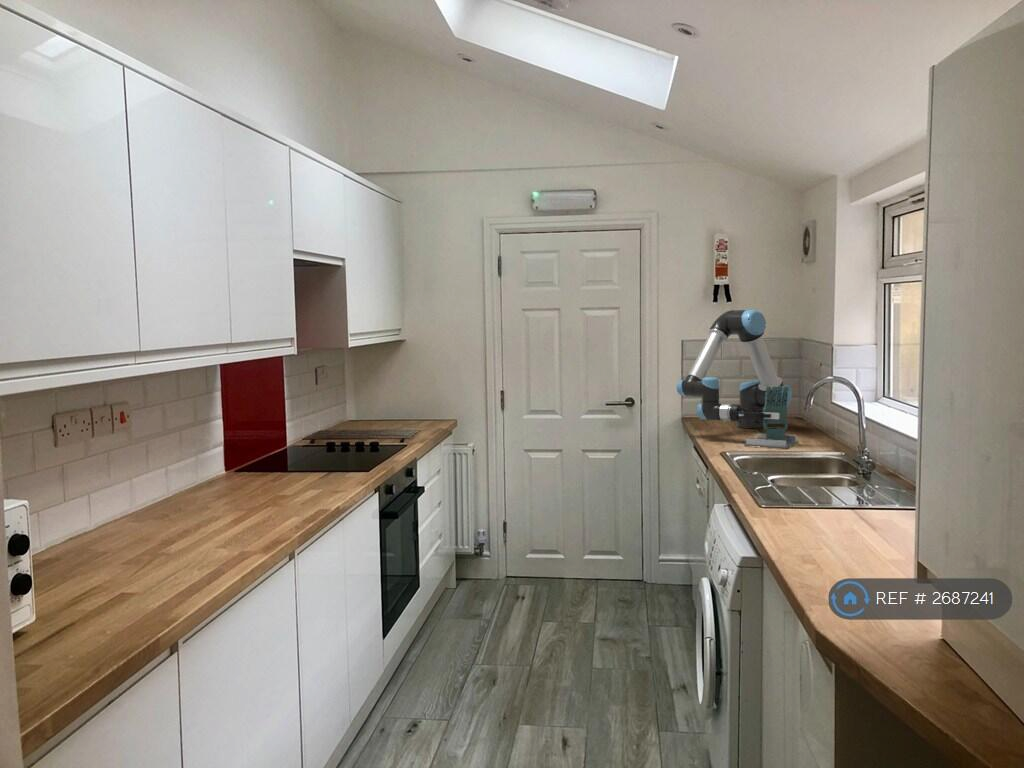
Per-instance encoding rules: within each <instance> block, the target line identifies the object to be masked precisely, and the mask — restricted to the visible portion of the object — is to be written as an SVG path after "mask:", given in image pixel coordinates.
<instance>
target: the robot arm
mask: <svg viewBox="0 0 1024 768" xmlns="http://www.w3.org/2000/svg"><path fill="white" fill-rule="evenodd" d="M766 324H767V322H766V318H765V316H764V314H763V313H762V312H761V311H759V310H756V309H742V310H741V309H739V310H738V309H737V310H734V309H731V310H727V311H725V312H723V313H722V314H720V315H719V316H718V317H717V318H716V319H715V320H714V321H713V323H712V324H711V326H710V328H709V330H708V336H707V338H706V340H705V342H704V343H703V345H702V347H701V349H700V350H699V353H698V355H697V357H696V358H695V361H694V362H693V364H692V366H691V368H690V370H689V372H688V373H687V376H686V377H685V379H680V380H679V381H678V382H677V384H676V392H677V393H678V394H679V396H683V397H696V398H702V399H701V400H702V402H701V403H700V402H699V403H698V405H697V406H696V407H697V408H696V415H697V418H698V419H700V420H707V421H709V420H710V421H723V422H724V423H725V422H727V421H729V422H730V421H731V422H736V427H737V428H739V427H741V428H740V429H750V428H756V429H764V428H763V427H764V420H763V417H764V419H779V413H769V412H764V414H763V413H761V412H763V408H764V407H765V396H766V395H765V394H766V392H767V391H766V387H767V386H771V392H772V387H773V386H777V387H778V386H782V391H781V392H782V394H783V392H784V391H783V388H784V387H785V386H788V387H789V389H788V392H787V393H788V396H787V407H788V406H789V404H790V403H791V401H792V397H793V391H792V388H791V386H790V385H788V384H784V381H783V379H782V378H781V376H780V377H779V376H778V375H777V373H776V370H775V366H774V364H773V362H772V359H771V356H770V354H769V350H768V348H767V345H766V343H765V340H764V338H763V336H764V334H765V331H766V327H767V326H766ZM732 335H734V336H735V335H737V336H738V339H739V341H740V342H741V343H744V345H745V347H746V349H747V352H748V355H749V357H750V360H751V363H752V366H753V367H754V368H753V369H754V371H755V374H756V375H757V378H758V380H754V381H744V382H741V383H740V386H739V404H735V403H733V404H731V403H720V381H719V378H718V377H714V376H707V377H706V375H707V373H708V371H709V370H710V368H711V366H712V364H713V362H714V360H715V358H716V357H717V354H718V353H719V351H720V349H721V347H722V346H723V343H724V342H727V340H728V338H729V337H730V336H732ZM771 392H770V393H771ZM777 392H778V391H777ZM777 392H776V393H777ZM776 396H777V394H776ZM782 396H783V395H782ZM782 396H781V397H782ZM770 402H771V396H770ZM781 403H782V401H781ZM757 414H758V417H757ZM760 418H761V419H760ZM767 426H768V427H769V424H767Z"/></svg>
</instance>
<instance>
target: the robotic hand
mask: <svg viewBox="0 0 1024 768" xmlns="http://www.w3.org/2000/svg"><path fill="white" fill-rule="evenodd" d="M788 386H789V385H788ZM788 386H785V387H784V388H783V391H784V392H783V394H782V392H781V391H782V386H778V387H777V386H773V387H772V392H771V386H767V387H766V391H767V392H766V394H765V395H766V396H765V407H764V408H763V412H761V413H763V414H764V412H769V413H779V419H764V417H763V420H764V428H763V430H765V432H766V433H765V434H766V439H773V440H785V435H786V431H787V430H788V427H789V426H788V425H789V421H788V419H787V415H788V406H787V396H788V393H787V392H788V389H789V387H790V386H789V387H788ZM777 391H778V392H777ZM770 392H771V393H770ZM776 392H777V393H776ZM776 394H777V396H776ZM782 395H783V396H782ZM770 396H771V402H770ZM781 396H782V397H781ZM781 401H782V403H781ZM757 417H758V414H757ZM760 419H761V418H760ZM767 424H768V425H772V424H773V425H775V424H777V425H779V424H783V427H781V426H771V427H769V426H768V427H767Z"/></svg>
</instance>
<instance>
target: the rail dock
mask: <svg viewBox="0 0 1024 768" xmlns="http://www.w3.org/2000/svg"><path fill="white" fill-rule="evenodd" d="M756 437H757V438H755V437H754V438H753V437H747V438H745V443H744V445H743V447H744V446H760V447H768V448H767V449H772V448H782V449H781V450H788V449H790V448H791V447H790V446H792V447H793V446H795V445H797V444H799V440H797V434H796V435H794V434H785V440H773V439H766V433H763V432H760V433H759V432H757V433H756ZM796 443H797V444H796ZM794 444H795V445H794ZM789 447H790V448H789ZM787 448H788V449H787Z"/></svg>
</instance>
